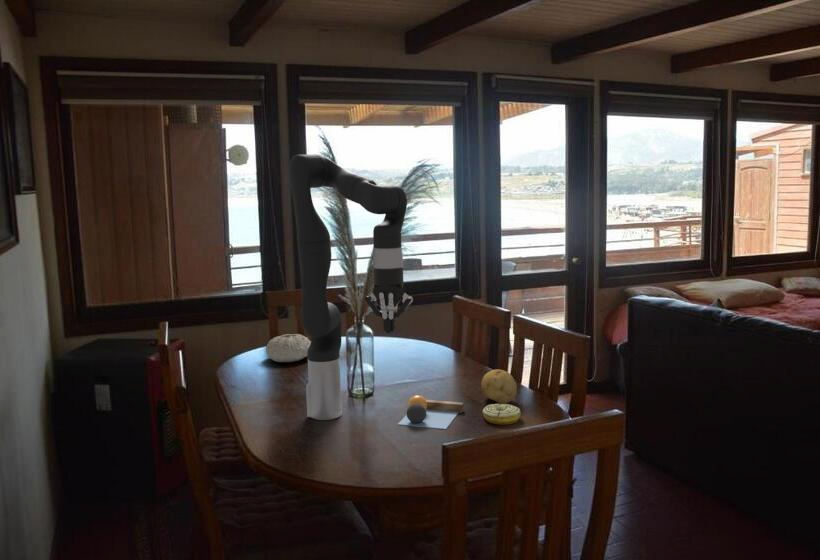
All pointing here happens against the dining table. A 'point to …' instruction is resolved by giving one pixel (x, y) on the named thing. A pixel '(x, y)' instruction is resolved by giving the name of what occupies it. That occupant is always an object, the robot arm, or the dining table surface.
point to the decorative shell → (288, 348)
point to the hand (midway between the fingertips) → (390, 332)
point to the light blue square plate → (432, 419)
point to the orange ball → (418, 401)
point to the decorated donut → (501, 414)
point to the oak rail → (445, 406)
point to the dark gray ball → (416, 413)
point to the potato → (499, 386)
